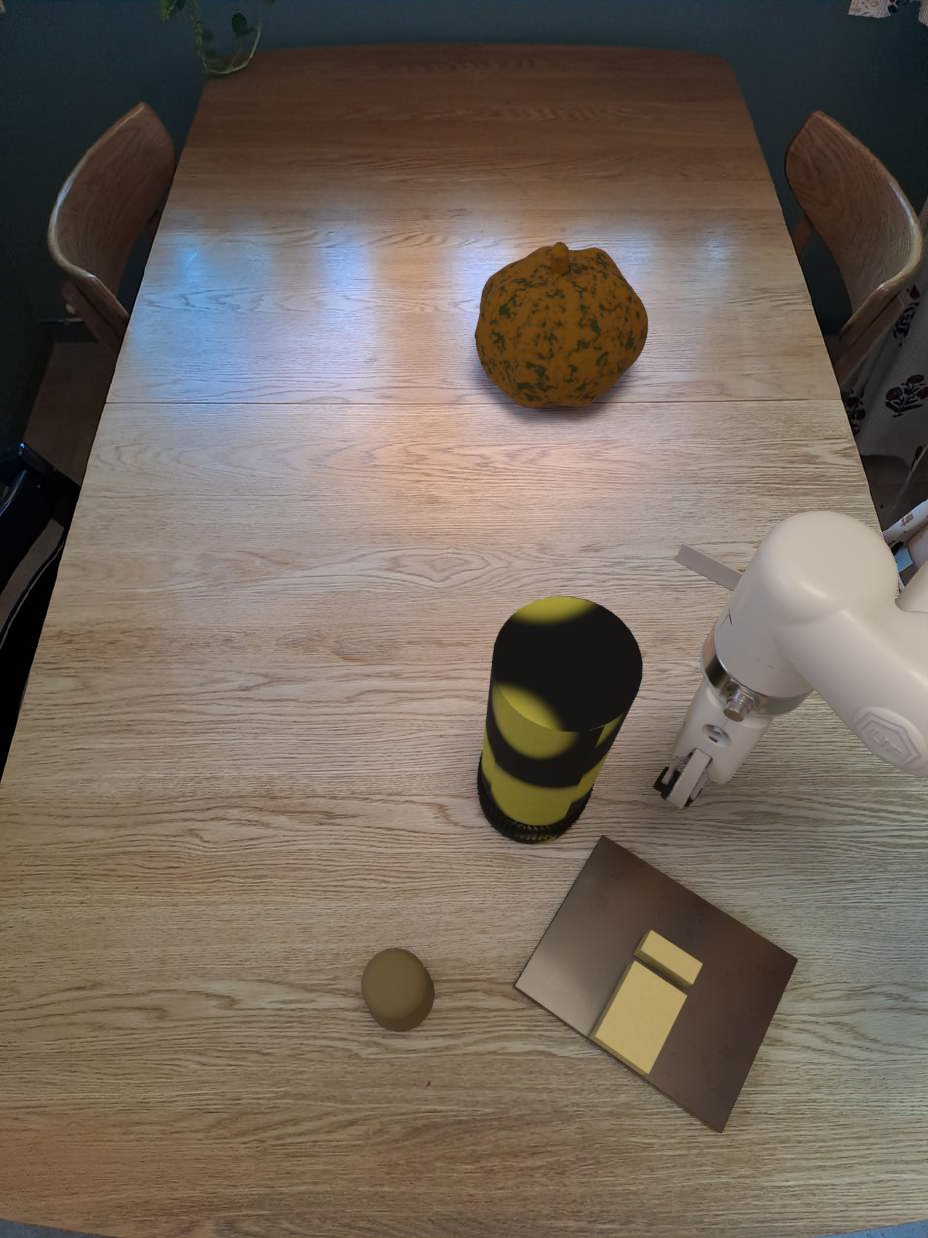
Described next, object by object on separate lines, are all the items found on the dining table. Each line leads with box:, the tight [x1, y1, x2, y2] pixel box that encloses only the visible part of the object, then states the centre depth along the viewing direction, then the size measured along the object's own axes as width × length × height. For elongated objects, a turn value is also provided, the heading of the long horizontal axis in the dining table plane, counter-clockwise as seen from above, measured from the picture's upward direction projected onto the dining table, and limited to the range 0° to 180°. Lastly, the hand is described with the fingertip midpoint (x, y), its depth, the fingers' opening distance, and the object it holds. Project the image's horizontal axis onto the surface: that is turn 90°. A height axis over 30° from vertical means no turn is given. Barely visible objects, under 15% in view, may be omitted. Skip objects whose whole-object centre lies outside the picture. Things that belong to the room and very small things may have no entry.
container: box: [476, 595, 644, 845], centre depth 70 cm, size 11×11×30 cm
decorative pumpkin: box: [473, 241, 649, 408], centre depth 102 cm, size 20×21×20 cm
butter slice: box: [634, 930, 703, 988], centre depth 73 cm, size 5×2×3 cm, turn 56°
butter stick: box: [590, 961, 687, 1074], centre depth 71 cm, size 5×7×3 cm
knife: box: [674, 542, 744, 592], centre depth 93 cm, size 20×2×4 cm, turn 56°
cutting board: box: [513, 834, 799, 1134], centre depth 75 cm, size 20×16×2 cm
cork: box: [360, 947, 435, 1033], centre depth 69 cm, size 6×6×11 cm
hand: (695, 747), depth 70 cm, fingers open, 9 cm apart
